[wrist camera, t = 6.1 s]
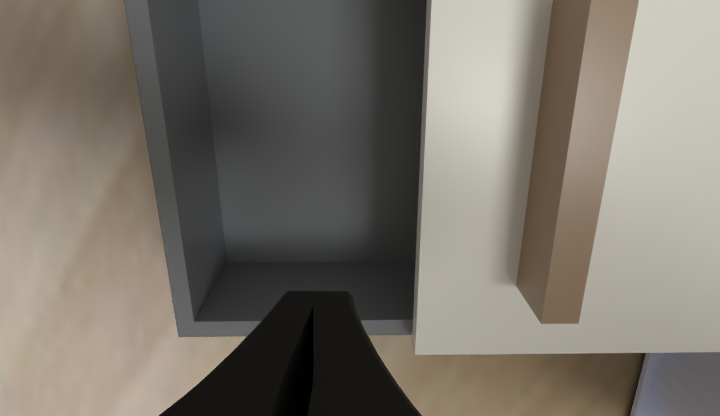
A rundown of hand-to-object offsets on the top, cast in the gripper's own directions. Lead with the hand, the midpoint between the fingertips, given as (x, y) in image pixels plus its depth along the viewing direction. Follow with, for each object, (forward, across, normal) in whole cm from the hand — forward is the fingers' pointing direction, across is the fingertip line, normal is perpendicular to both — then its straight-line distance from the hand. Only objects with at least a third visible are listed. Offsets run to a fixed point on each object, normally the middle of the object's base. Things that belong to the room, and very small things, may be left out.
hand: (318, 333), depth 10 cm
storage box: (+10, -1, -3) cm, 11 cm away
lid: (+5, -9, -3) cm, 10 cm away
